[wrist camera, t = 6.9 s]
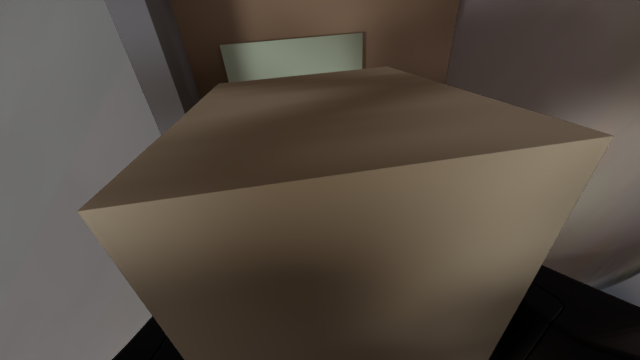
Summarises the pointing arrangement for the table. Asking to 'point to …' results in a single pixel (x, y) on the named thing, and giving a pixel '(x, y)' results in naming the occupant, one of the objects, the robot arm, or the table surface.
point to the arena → (274, 42)
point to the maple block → (343, 217)
